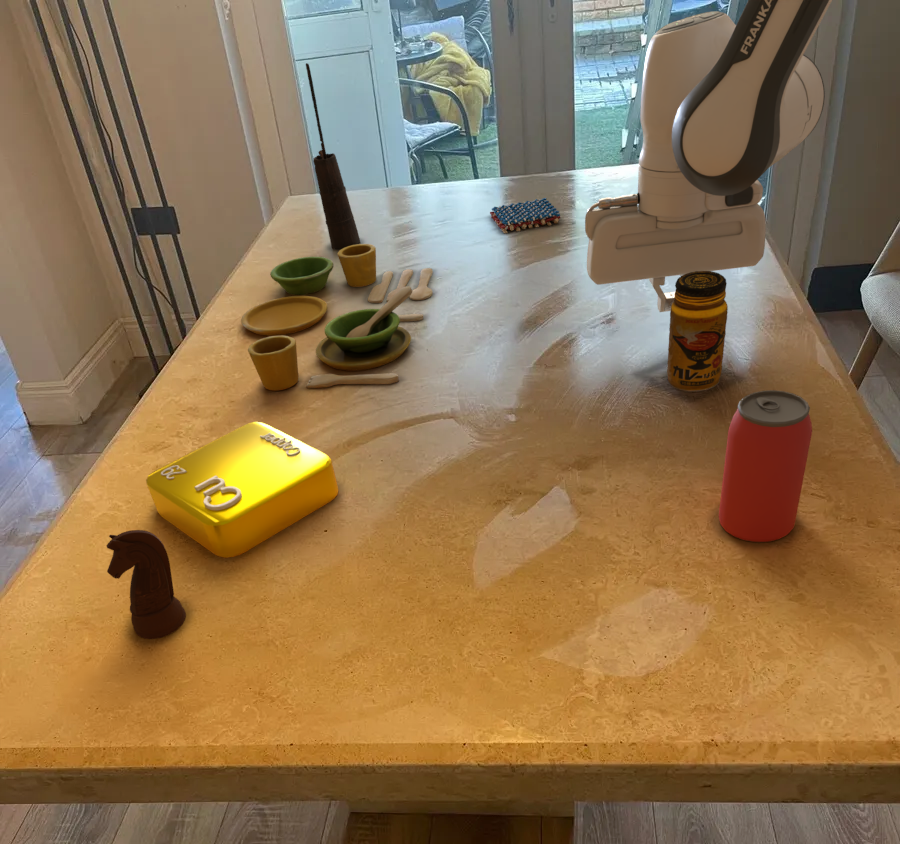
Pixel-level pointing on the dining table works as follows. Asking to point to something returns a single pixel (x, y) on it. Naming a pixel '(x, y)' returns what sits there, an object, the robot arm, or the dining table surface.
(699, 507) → the dining table surface
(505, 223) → the woven mat
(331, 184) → the butter churn
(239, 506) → the element tile
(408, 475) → the dining table surface
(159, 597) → the chess piece
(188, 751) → the dining table surface
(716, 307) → the condiment
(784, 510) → the beer can
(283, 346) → the tableware set
